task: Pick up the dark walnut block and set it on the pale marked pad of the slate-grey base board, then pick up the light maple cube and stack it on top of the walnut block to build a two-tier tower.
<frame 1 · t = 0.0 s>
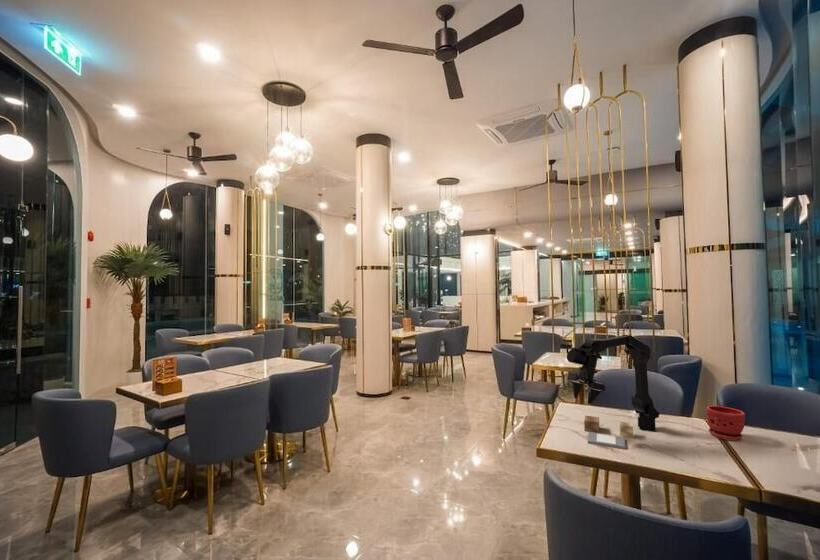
hand: (581, 400, 173), 15 cm above the table, fingers open, 9 cm apart
plant pot: (725, 437, 170), on the table
base board: (606, 441, 166), on the table
walnut block: (592, 429, 180), on the table
maple cube: (626, 435, 173), on the table
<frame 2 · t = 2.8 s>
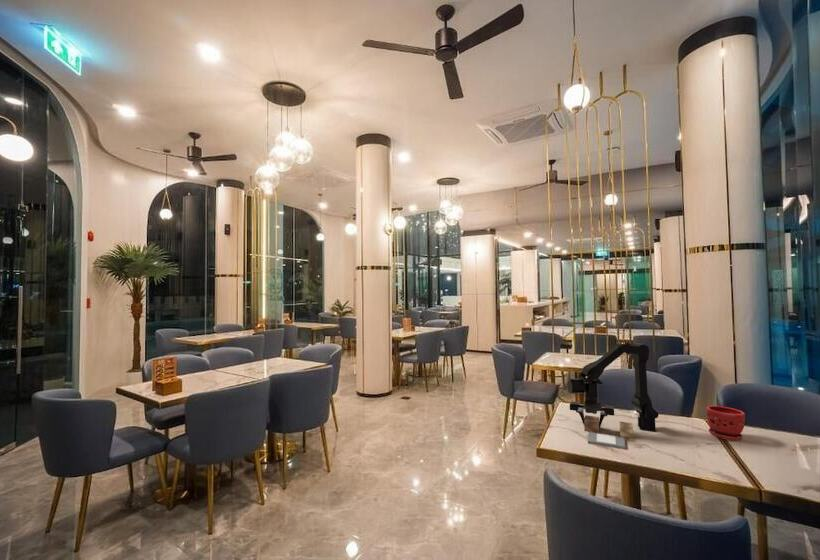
hand: (591, 426, 180), 1 cm above the table, fingers closed on walnut block, 6 cm apart
walnut block: (591, 429, 180), on the table, touching gripper
everything else where it was.
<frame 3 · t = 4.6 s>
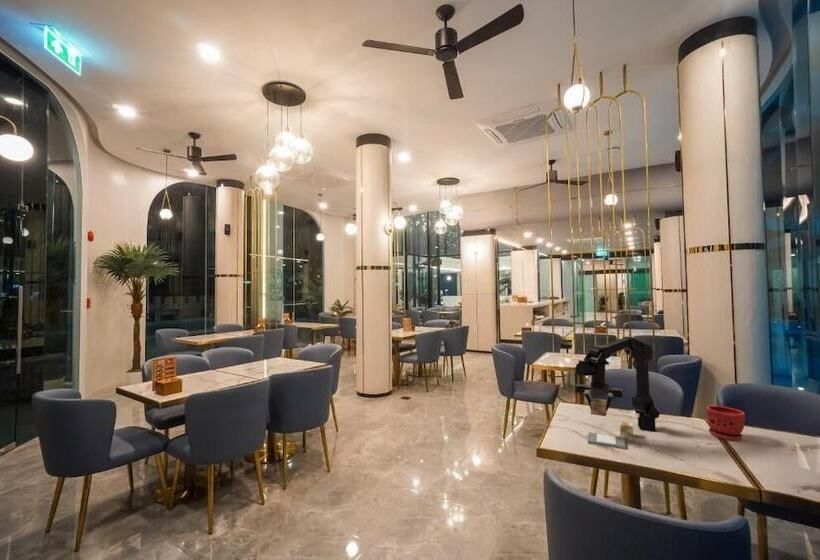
hand: (598, 409, 172), 12 cm above the table, fingers closed on walnut block, 6 cm apart
walnut block: (598, 412, 172), point 10 cm above the table, touching gripper
everything else where it was.
when the fingers open (4 cm above the table, at t = 6.9 s): walnut block drops 1 cm, resting on base board.
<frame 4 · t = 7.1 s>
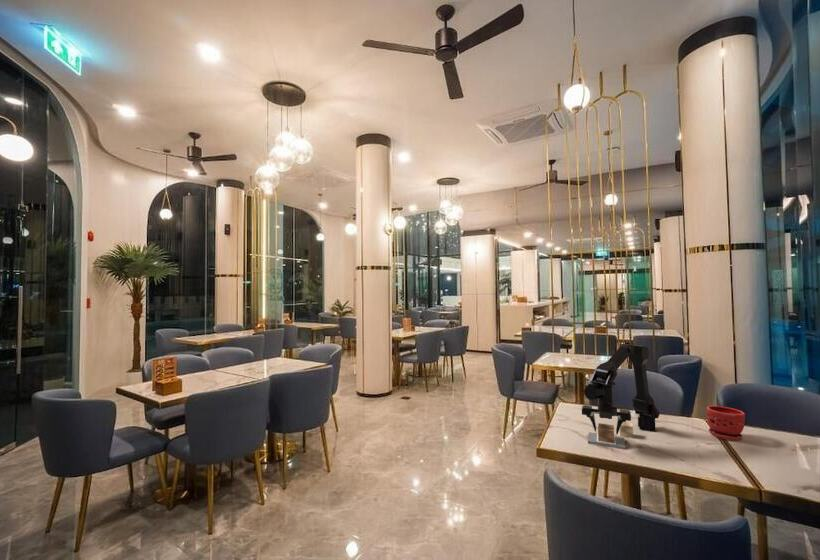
hand: (606, 432, 166), 4 cm above the table, fingers open, 8 cm apart
walnut block: (606, 438, 166), point 1 cm above the table, touching base board
everything else where it was.
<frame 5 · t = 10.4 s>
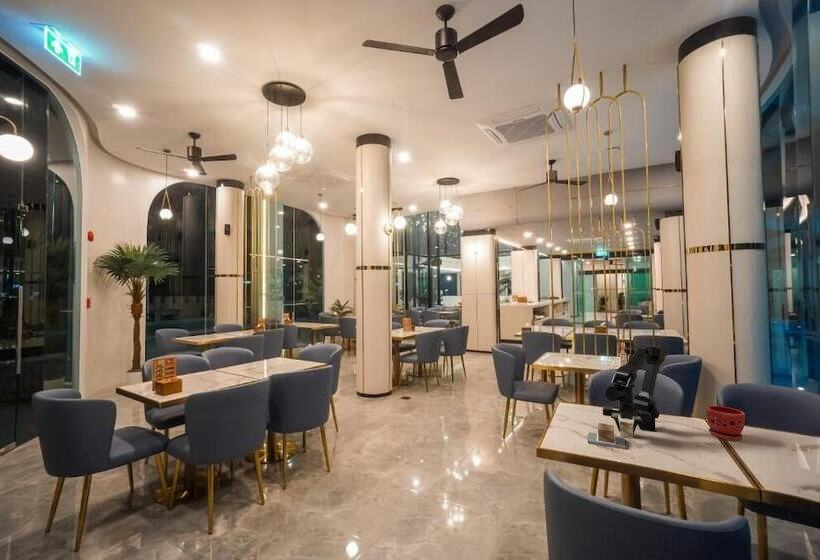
hand: (626, 432, 173), 1 cm above the table, fingers closed on maple cube, 5 cm apart
maple cube: (626, 435, 173), on the table, touching gripper
everything else where it was.
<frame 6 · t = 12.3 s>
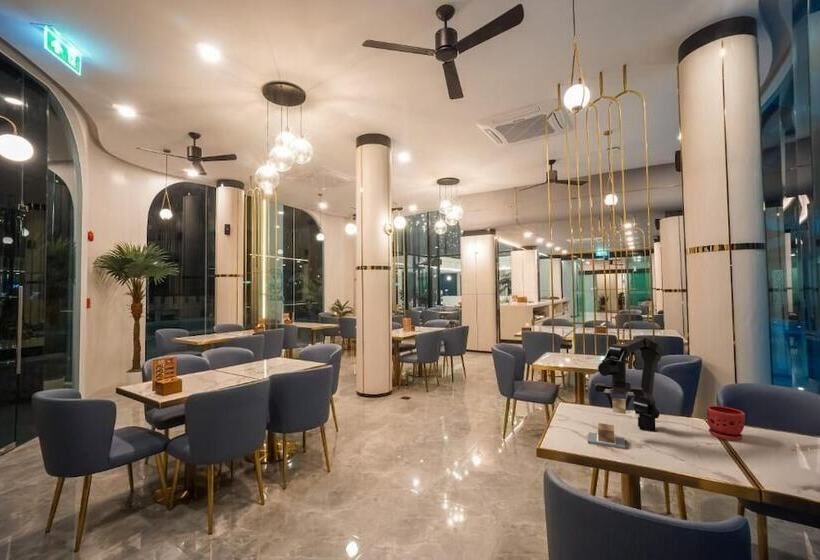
hand: (618, 409, 170), 12 cm above the table, fingers closed on maple cube, 5 cm apart
maple cube: (619, 411, 170), point 11 cm above the table, touching gripper
everything else where it was.
when the fingers open (8 cm above the table, at t = 14.2 s): maple cube drops 1 cm, resting on walnut block.
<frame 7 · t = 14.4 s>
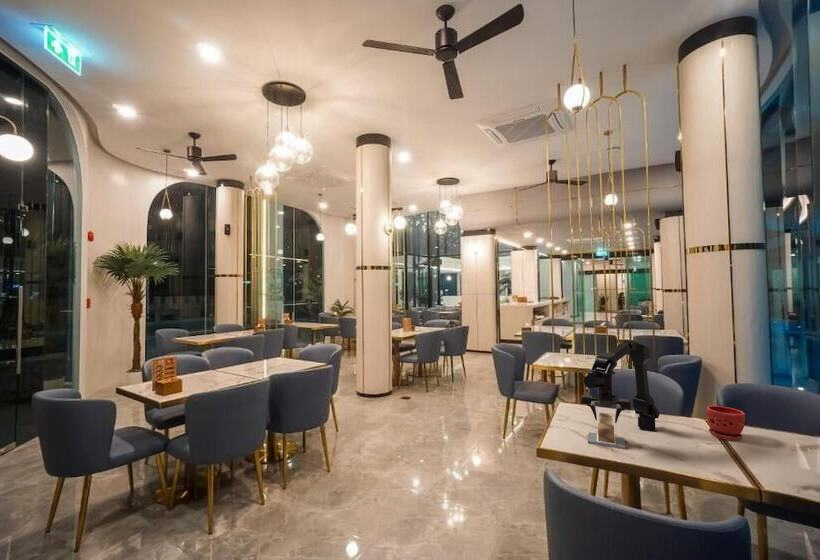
hand: (605, 421, 166), 8 cm above the table, fingers open, 7 cm apart
walnut block: (606, 438, 166), point 1 cm above the table, touching base board, maple cube
maple cube: (606, 427, 166), point 6 cm above the table, touching walnut block
everything else where it was.
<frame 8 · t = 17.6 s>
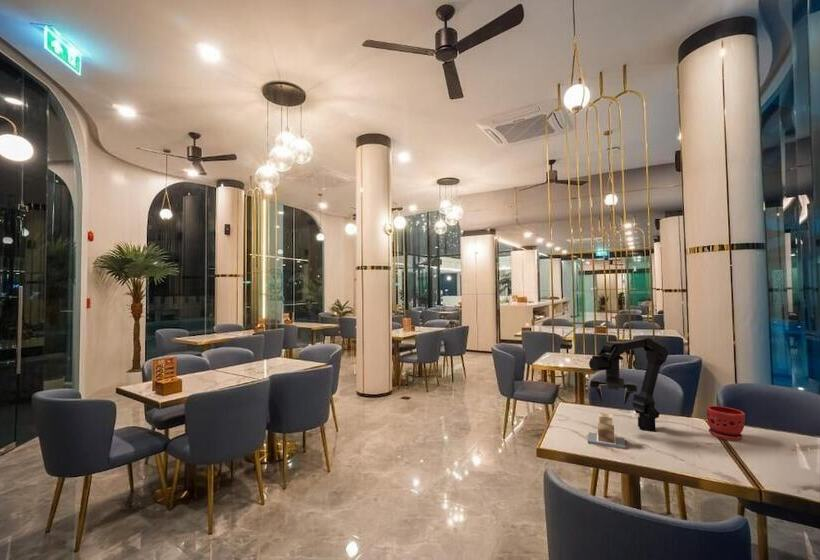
hand: (613, 403, 176), 13 cm above the table, fingers open, 9 cm apart
nothing on the table moved.
at the end: walnut block 0.1 cm off-centre on the base board, point 1.2 cm above the base board's base; maple cube 0.1 cm off-centre on the walnut block, point 5.0 cm above the walnut block's base; maple cube tilted 0° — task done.
